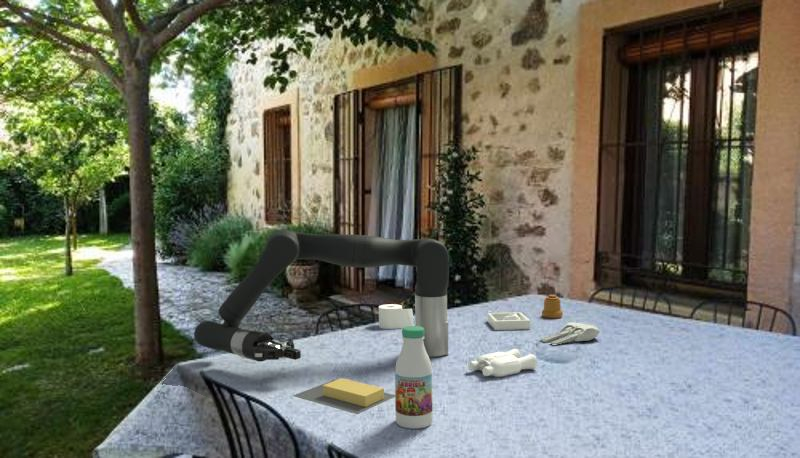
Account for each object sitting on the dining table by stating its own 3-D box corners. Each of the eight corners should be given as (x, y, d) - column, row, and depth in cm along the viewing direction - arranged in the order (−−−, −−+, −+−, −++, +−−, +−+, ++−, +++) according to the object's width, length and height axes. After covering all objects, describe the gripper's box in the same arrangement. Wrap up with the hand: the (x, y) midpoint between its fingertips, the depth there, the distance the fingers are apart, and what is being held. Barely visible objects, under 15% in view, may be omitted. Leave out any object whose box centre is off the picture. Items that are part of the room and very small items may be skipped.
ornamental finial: (559, 314, 231) (564, 318, 224) (539, 314, 231) (544, 319, 224) (560, 293, 231) (565, 296, 223) (539, 293, 231) (544, 297, 223)
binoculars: (538, 371, 163) (538, 354, 163) (490, 382, 155) (491, 364, 155) (511, 362, 172) (511, 345, 172) (465, 371, 164) (465, 354, 164)
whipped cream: (516, 332, 209) (517, 318, 208) (497, 328, 212) (498, 314, 212) (524, 325, 216) (525, 312, 215) (505, 321, 219) (506, 308, 218)
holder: (520, 320, 222) (520, 312, 221) (530, 329, 209) (530, 320, 208) (487, 321, 221) (487, 313, 221) (494, 330, 208) (494, 321, 208)
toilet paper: (413, 327, 213) (413, 307, 213) (381, 329, 211) (381, 309, 210) (408, 322, 221) (407, 303, 221) (376, 324, 219) (376, 304, 218)
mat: (292, 397, 145) (292, 395, 145) (333, 381, 156) (333, 379, 156) (357, 415, 133) (357, 413, 133) (397, 397, 144) (396, 395, 144)
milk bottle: (394, 416, 133) (393, 324, 131) (430, 414, 133) (429, 323, 132) (397, 430, 125) (395, 333, 123) (435, 429, 126) (434, 331, 124)
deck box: (322, 385, 144) (365, 396, 137) (341, 378, 150) (383, 388, 142) (322, 396, 145) (365, 407, 137) (341, 388, 150) (384, 399, 142)
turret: (536, 347, 195) (534, 333, 194) (584, 330, 203) (582, 316, 202) (558, 355, 186) (556, 340, 185) (607, 337, 194) (605, 322, 193)
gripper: (271, 352, 169) (317, 363, 159) (232, 364, 159) (278, 376, 148) (271, 325, 169) (317, 334, 158) (231, 335, 158) (277, 345, 148)
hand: (298, 355), depth 153 cm, fingers closed
